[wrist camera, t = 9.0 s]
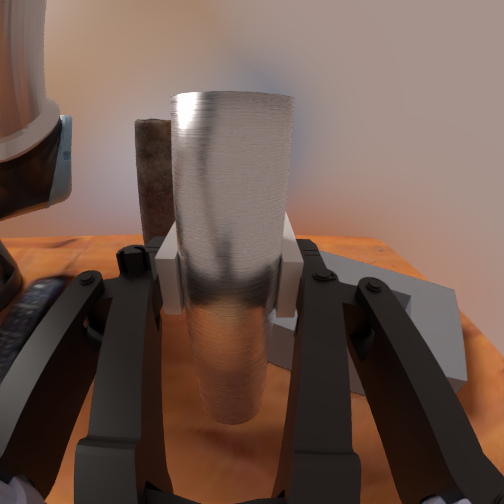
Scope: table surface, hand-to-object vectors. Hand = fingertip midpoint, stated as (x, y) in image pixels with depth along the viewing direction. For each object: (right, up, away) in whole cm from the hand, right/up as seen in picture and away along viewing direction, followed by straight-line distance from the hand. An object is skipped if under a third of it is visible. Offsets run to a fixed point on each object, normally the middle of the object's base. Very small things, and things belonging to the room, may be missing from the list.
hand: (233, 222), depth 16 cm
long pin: (0, -11, 0) cm, 11 cm away
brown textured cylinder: (-10, -3, +23) cm, 25 cm away
